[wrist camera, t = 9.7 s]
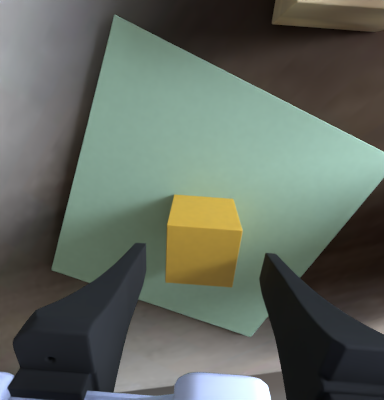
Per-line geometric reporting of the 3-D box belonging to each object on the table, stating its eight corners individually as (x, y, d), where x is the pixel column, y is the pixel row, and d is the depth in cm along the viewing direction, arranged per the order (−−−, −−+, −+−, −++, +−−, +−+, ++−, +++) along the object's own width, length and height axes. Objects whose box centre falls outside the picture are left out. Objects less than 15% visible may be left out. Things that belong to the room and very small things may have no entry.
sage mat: (394, 158, 17) (399, 159, 16) (249, 333, 25) (250, 337, 24) (116, 16, 14) (114, 14, 13) (53, 267, 22) (50, 270, 21)
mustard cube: (233, 198, 18) (243, 230, 14) (225, 247, 20) (232, 287, 16) (174, 194, 18) (166, 224, 14) (172, 243, 20) (165, 282, 16)
